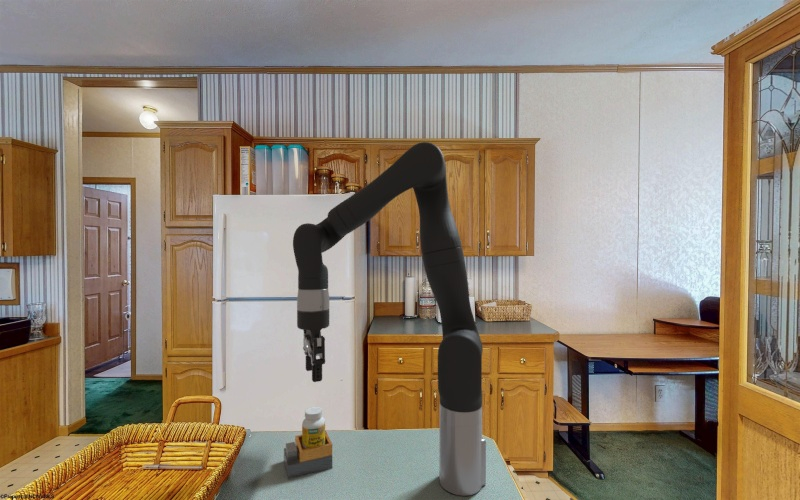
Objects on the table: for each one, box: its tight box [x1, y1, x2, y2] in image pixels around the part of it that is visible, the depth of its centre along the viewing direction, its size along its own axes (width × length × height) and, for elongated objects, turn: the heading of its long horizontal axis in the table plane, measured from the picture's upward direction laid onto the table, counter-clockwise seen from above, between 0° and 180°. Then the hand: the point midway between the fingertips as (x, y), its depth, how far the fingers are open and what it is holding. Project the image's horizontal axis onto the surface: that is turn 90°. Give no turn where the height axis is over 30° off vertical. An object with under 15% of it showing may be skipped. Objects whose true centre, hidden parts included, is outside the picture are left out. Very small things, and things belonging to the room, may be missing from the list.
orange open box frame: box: [283, 429, 333, 480], centre depth 84 cm, size 10×8×6 cm
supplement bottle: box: [301, 406, 326, 449], centre depth 85 cm, size 5×5×10 cm
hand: (313, 375), depth 85 cm, fingers open, 8 cm apart
